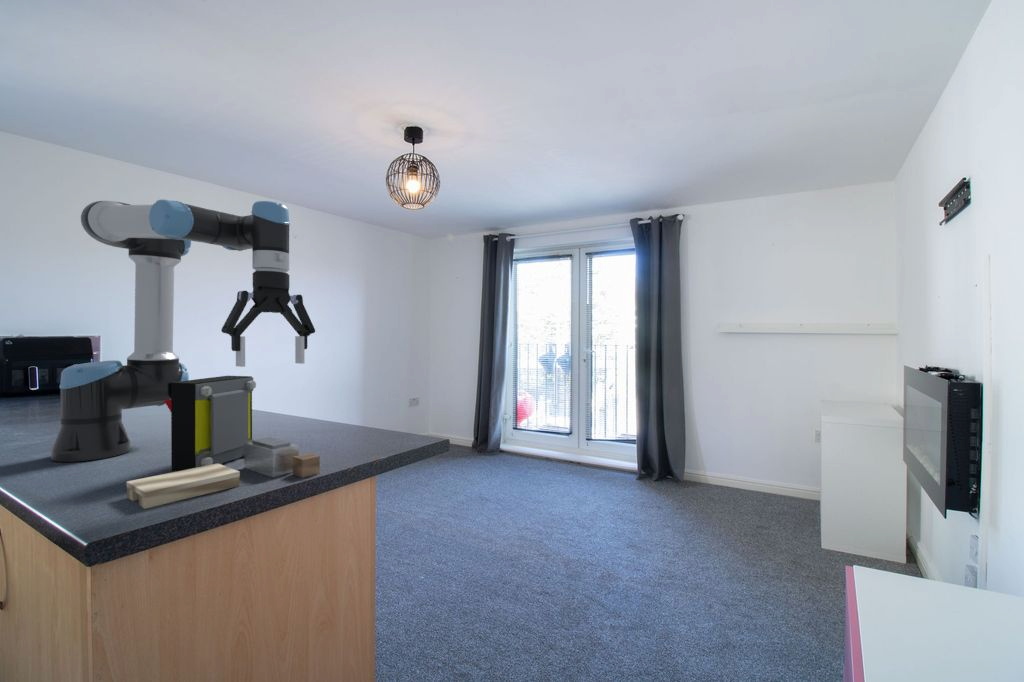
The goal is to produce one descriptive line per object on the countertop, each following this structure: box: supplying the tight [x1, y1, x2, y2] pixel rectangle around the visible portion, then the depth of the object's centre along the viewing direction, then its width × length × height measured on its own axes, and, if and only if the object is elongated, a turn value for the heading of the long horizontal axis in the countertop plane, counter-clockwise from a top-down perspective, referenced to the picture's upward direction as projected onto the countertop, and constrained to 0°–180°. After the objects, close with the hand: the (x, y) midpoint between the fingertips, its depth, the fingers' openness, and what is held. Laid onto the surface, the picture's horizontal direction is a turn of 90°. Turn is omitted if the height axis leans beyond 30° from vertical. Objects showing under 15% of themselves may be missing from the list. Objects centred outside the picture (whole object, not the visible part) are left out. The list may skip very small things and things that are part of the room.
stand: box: [126, 463, 241, 510], centre depth 94 cm, size 10×16×3 cm, turn 144°
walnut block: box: [292, 452, 321, 478], centre depth 107 cm, size 4×4×4 cm
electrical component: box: [165, 375, 257, 472], centre depth 116 cm, size 18×10×20 cm, turn 168°
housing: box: [243, 437, 299, 478], centre depth 110 cm, size 12×6×7 cm, turn 56°
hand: (271, 365), depth 109 cm, fingers open, 13 cm apart
